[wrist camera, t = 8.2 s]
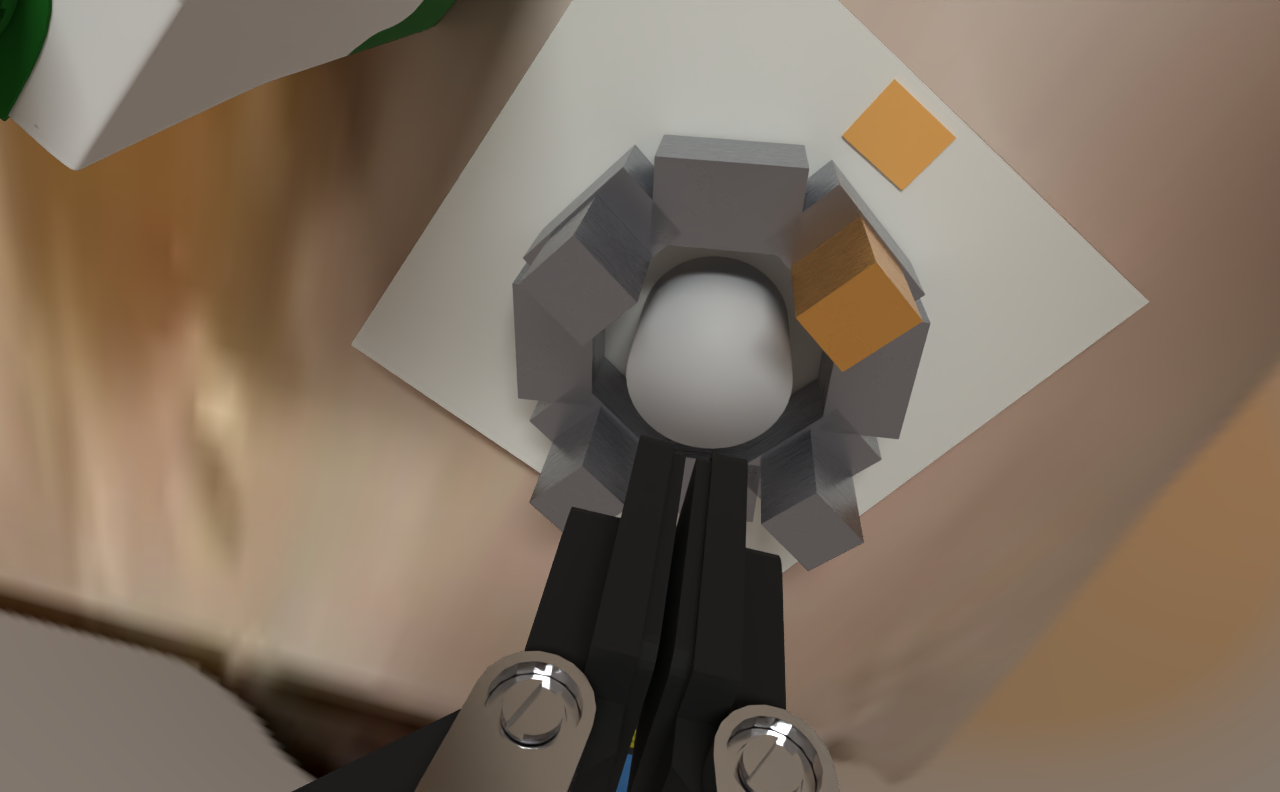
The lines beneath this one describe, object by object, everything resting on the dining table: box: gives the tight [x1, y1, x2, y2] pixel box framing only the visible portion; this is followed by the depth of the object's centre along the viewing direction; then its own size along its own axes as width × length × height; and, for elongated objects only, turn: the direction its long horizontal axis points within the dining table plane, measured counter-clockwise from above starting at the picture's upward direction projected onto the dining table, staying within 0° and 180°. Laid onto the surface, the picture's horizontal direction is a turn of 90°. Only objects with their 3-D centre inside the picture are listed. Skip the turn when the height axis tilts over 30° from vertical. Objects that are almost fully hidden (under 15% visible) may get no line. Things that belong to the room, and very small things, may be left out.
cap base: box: [351, 0, 1149, 573], centre depth 30 cm, size 23×23×6 cm
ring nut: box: [512, 135, 930, 571], centre depth 28 cm, size 15×15×7 cm
